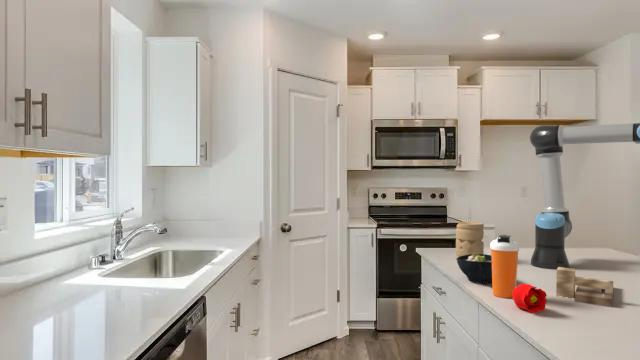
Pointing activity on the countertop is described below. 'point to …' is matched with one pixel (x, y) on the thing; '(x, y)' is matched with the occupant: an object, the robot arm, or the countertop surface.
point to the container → (469, 238)
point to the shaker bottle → (504, 265)
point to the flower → (529, 298)
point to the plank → (594, 295)
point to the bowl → (476, 267)
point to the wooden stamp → (575, 282)
